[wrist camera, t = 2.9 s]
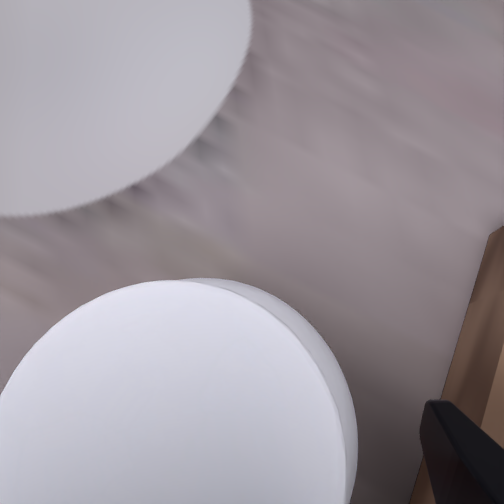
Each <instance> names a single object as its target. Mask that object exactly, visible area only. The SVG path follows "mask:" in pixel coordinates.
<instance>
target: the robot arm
mask: <svg viewBox="0 0 504 504" xmlns="http://www.w3.org/2000/svg"><path fill="white" fill-rule="evenodd" d="M419 433H420V441H421V445H422V449H423V454H424V458H425V462H426V466H427V470H428V474H429V478H430V483H431V487H432V491H433V495H434V499H435V503H436V504H504V449H503V448H502V447H501V446H500V445H499V444H498V443H497V442H496V441H495V440H493V439H492V438H491V437H490V436H489V435H488V434H487V433H486V432H484V431H483V430H482V429H481V428H480V427H479V426H478V425H477V424H476V423H474V422H473V421H472V420H471V419H470V418H469V417H468V416H467V415H466V414H464V413H463V412H462V411H461V410H460V409H459V408H458V407H457V406H456V405H454V404H453V403H452V402H451V401H449V400H428V401H427V402H426V404H425V407H424V411H423V415H422V420H421V424H420V431H419Z"/></svg>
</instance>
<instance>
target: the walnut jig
mask: <svg viewBox="0 0 504 504" xmlns="http://www.w3.org/2000/svg"><path fill="white" fill-rule="evenodd" d="M441 400H449V401H451V402H452V403H453V404H454V405H456V406H457V407H458V408H459V409H460V410H461V411H462V412H463V413H464V414H466V415H467V416H468V417H469V418H470V419H471V420H472V421H473V422H474V423H476V424H477V425H478V426H479V427H480V428H481V429H482V430H483V431H484V432H486V433H487V434H488V435H489V436H490V437H491V438H492V439H493V440H495V441H496V442H497V443H498V444H499V445H500V446H501V447H502V448H503V449H504V226H502V227H501V228H499V229H498V230H496V231H495V232H493V233H492V234H490V236H489V239H488V243H487V246H486V249H485V253H484V256H483V259H482V263H481V266H480V269H479V273H478V276H477V279H476V283H475V286H474V289H473V293H472V296H471V299H470V303H469V306H468V309H467V313H466V316H465V319H464V323H463V326H462V329H461V333H460V336H459V340H458V343H457V346H456V350H455V353H454V356H453V360H452V363H451V366H450V370H449V373H448V376H447V380H446V383H445V386H444V390H443V393H442V396H441ZM409 504H436V503H435V499H434V495H433V491H432V487H431V483H430V478H429V474H428V470H427V466H426V462H425V458H424V456H423V460H422V463H421V466H420V470H419V473H418V476H417V480H416V483H415V487H414V490H413V493H412V497H411V500H410V503H409Z"/></svg>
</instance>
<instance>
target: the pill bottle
mask: <svg viewBox="0 0 504 504" xmlns="http://www.w3.org/2000/svg"><path fill="white" fill-rule="evenodd" d="M357 461H358V430H357V422H356V415H355V410H354V405H353V401H352V397H351V394H350V391H349V388H348V385H347V382H346V380H345V377H344V375H343V372H342V370H341V368H340V366H339V364H338V362H337V360H336V358H335V356H334V354H333V353H332V351H331V350H330V348H329V347H328V345H327V344H326V342H325V341H324V340H323V338H322V337H321V336H320V334H319V333H318V332H317V331H316V330H315V329H314V328H313V326H312V325H311V324H310V323H309V322H308V321H307V320H306V319H305V318H304V317H303V316H302V315H300V314H299V313H298V312H297V311H296V310H294V309H293V308H292V307H290V306H289V305H288V304H286V303H285V302H283V301H282V300H280V299H278V298H277V297H275V296H274V295H272V294H269V293H267V292H265V291H263V290H261V289H259V288H256V287H254V286H251V285H247V284H244V283H240V282H237V281H232V280H225V279H217V278H191V279H182V280H160V281H152V282H143V283H139V284H135V285H130V286H127V287H124V288H120V289H117V290H114V291H111V292H108V293H106V294H103V295H102V296H100V297H98V298H96V299H94V300H92V301H90V302H88V303H86V304H84V305H82V306H80V307H79V308H77V309H76V310H74V311H73V312H71V313H70V314H68V315H67V316H66V317H64V318H63V319H62V320H60V321H59V322H58V323H57V324H55V325H54V326H53V327H52V328H50V330H49V331H48V332H47V333H46V334H45V335H44V336H42V337H41V338H40V339H39V340H38V341H37V342H36V343H35V344H34V345H33V347H32V348H31V349H30V351H29V352H28V353H27V354H26V355H25V356H24V358H23V359H22V361H21V362H20V364H19V365H18V366H17V368H16V369H15V371H14V372H13V374H12V376H11V378H10V379H9V381H8V383H7V385H6V386H5V388H4V390H3V392H2V393H1V395H0V504H349V503H350V500H351V496H352V491H353V487H354V483H355V478H356V472H357Z"/></svg>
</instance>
